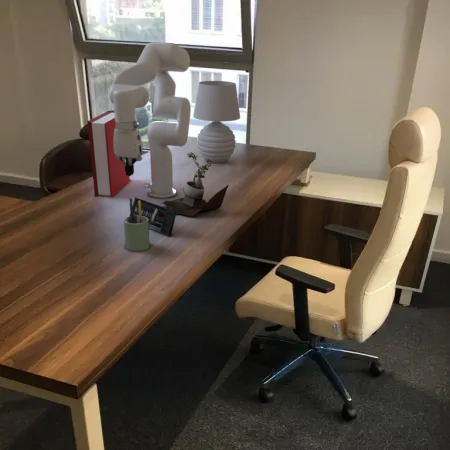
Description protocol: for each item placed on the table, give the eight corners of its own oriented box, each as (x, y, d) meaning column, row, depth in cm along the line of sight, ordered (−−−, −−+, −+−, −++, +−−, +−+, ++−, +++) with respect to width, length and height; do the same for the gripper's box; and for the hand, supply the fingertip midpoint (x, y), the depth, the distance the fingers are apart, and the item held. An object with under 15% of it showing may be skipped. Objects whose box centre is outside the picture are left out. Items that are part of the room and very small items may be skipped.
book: (112, 197, 228) (106, 122, 212) (94, 196, 229) (87, 121, 213) (130, 179, 252) (126, 111, 236) (114, 178, 253) (109, 110, 237)
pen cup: (121, 249, 181) (117, 199, 172) (132, 240, 188) (129, 192, 179) (143, 252, 179) (140, 203, 170) (153, 243, 186) (151, 195, 177)
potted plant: (190, 202, 232) (207, 150, 219) (218, 224, 223) (238, 170, 211) (157, 205, 218) (173, 149, 205) (185, 228, 209) (204, 171, 196)
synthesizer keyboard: (178, 211, 190) (153, 205, 185) (172, 236, 192) (147, 232, 187) (156, 201, 208) (132, 196, 202) (150, 225, 210) (127, 221, 205)
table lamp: (238, 166, 278) (242, 87, 258) (191, 165, 278) (191, 85, 258) (238, 155, 300) (241, 80, 280) (194, 153, 300) (194, 79, 280)
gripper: (149, 125, 189) (151, 174, 199) (112, 121, 193) (116, 169, 202) (140, 129, 183) (143, 180, 192) (102, 125, 187) (107, 175, 196)
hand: (129, 174), depth 197 cm, fingers closed
